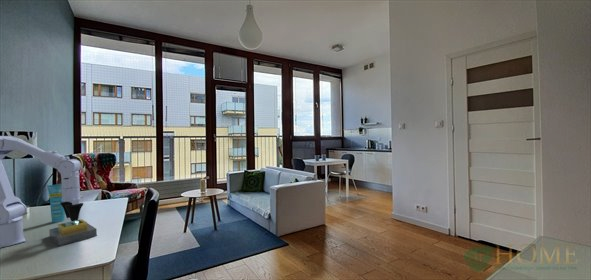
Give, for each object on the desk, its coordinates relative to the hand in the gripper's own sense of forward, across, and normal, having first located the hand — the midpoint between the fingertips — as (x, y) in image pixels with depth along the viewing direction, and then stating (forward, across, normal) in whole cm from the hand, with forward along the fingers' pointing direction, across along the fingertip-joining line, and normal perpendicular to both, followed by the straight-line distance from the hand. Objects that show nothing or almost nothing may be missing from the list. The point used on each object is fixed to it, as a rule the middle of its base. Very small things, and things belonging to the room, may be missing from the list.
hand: (72, 218), depth 108 cm
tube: (+8, +35, -1) cm, 36 cm away
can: (+7, 0, 0) cm, 7 cm away
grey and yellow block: (+7, 0, 0) cm, 7 cm away
